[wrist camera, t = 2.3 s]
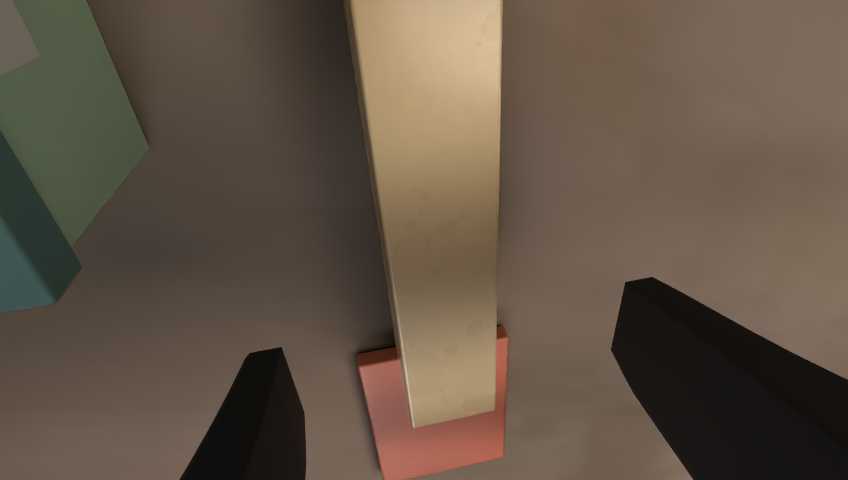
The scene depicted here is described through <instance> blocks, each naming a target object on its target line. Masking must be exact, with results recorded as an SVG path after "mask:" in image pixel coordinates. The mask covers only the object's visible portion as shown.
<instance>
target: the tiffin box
mask: <svg viewBox="0 0 848 480" xmlns="http://www.w3.org/2000/svg"><path fill="white" fill-rule="evenodd" d="M148 149H149V146H148V143H147V141H146V139H145V136H144V134H143V132H142V129H141V127H140V125H139V122H138V120H137V118H136V115H135V113H134V111H133V108H132V106H131V104H130V101H129V99H128V97H127V94H126V92H125V90H124V87H123V85H122V83H121V80H120V78H119V75H118V73H117V71H116V68H115V66H114V64H113V61H112V59H111V57H110V54H109V52H108V50H107V47H106V45H105V43H104V40H103V38H102V36H101V33H100V31H99V29H98V26H97V24H96V22H95V19H94V17H93V15H92V12H91V10H90V8H89V5H88V3H87V1H86V0H0V313H4V312H10V311H16V310H22V309H28V308H33V307H39V306H45V305H51V304H54V303H56V302H58V301H59V300H60V298H61V297H62V295H63V294H64V293H65V291H66V290H67V288H68V287H69V285H70V284H71V283H72V281H73V280H74V278H75V277H76V276H77V274H78V273H79V271H80V270H81V268H82V266H81V263H80V261H79V260H78V258H77V256H76V255H75V253H74V252H73V250H72V248H71V247H72V246H73V244H74V243H75V242H76V241H77V239H78V238H79V237H80V235H81V234H82V233H83V232H84V230H85V229H86V228H87V227H88V225H89V224H90V223H91V222H92V220H93V219H94V218H95V217H96V215H97V214H98V213H99V211H100V210H101V209H102V208H103V206H104V205H105V204H106V203H107V201H108V200H109V199H110V198H111V196H112V195H113V194H114V192H115V191H116V190H117V189H118V187H119V186H120V185H121V184H122V182H123V181H124V180H125V179H126V177H127V176H128V175H129V173H130V172H131V171H132V170H133V168H134V167H135V166H136V165H137V163H138V162H139V161H140V160H141V158H142V157H143V156H144V155H145V153H146V152H147V151H148Z"/></svg>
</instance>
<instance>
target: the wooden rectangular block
mask: <svg viewBox="0 0 848 480" xmlns="http://www.w3.org/2000/svg"><path fill="white" fill-rule="evenodd" d="M343 3H344V10H345V16H346V23H347V29H348V36H349V43H350V49H351V56H352V62H353V69H354V75H355V82H356V88H357V95H358V101H359V108H360V115H361V121H362V128H363V134H364V141H365V147H366V154H367V160H368V167H369V173H370V180H371V187H372V193H373V200H374V206H375V213H376V219H377V226H378V232H379V239H380V246H381V252H382V259H383V265H384V272H385V278H386V285H387V291H388V298H389V304H390V311H391V318H392V324H393V331H394V337H395V344H396V347H392V348H387V349H382V350H376V351H371V352H366V353H361V354H358V356H357V360H358V369H359V373H360V378H361V382H362V386H363V391H364V395H365V400H366V404H367V409H368V413H369V418H370V422H371V426H372V431H373V435H374V440H375V444H376V449H377V453H378V458H379V462H380V467H381V471H382V475H383V480H407V479H411V478H416V477H420V476H424V475H429V474H433V473H437V472H441V471H446V470H450V469H454V468H459V467H463V466H467V465H472V464H476V463H480V462H485V461H489V460H493V459H498V458H502V457H504V432H505V406H506V379H507V352H508V336H507V334H506V332H505V330H504V328H503V326H499V327H497V285H498V230H499V175H500V120H501V65H502V10H503V0H343Z"/></svg>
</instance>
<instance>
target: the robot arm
mask: <svg viewBox="0 0 848 480" xmlns="http://www.w3.org/2000/svg"><path fill="white" fill-rule="evenodd" d="M611 351H612V353H613V355H614V357H615V359H616V361H617V363H618V365H619V367H620V369H621V371H622V373H623V375H624V376H625V378H626V380H627V382H628V384H629V386H630V387H631V389H632V391H633V393H634V394H635V396H636V397H637V399H638V400H639V402H640V403H641V405H642V406H643V408H644V409H645V411H646V412H647V414H648V415H649V416H650V418H651V419H652V421H653V422H654V424H655V425H656V427H657V428H658V430H659V431H660V432H661V434H662V435H663V437H664V438H665V440H666V441H667V442H668V444H669V445H670V447H671V448H672V450H673V451H674V452H675V454H676V455H677V457H678V458H679V460H680V461H681V462H682V464H683V465H684V467H685V468H686V470H687V471H688V473H689V474H690V475H691V477H692V478H693V480H848V380H847V379H845V378H843V377H841V376H838V375H836V374H834V373H832V372H830V371H828V370H826V369H824V368H822V367H820V366H818V365H816V364H814V363H812V362H810V361H808V360H806V359H804V358H802V357H800V356H798V355H796V354H794V353H792V352H790V351H788V350H786V349H784V348H782V347H780V346H778V345H776V344H775V343H773V342H771V341H769V340H767V339H765V338H763V337H761V336H759V335H758V334H756V333H754V332H752V331H750V330H748V329H747V328H745V327H743V326H741V325H739V324H737V323H736V322H734V321H732V320H730V319H728V318H727V317H725V316H723V315H721V314H719V313H718V312H716V311H714V310H712V309H710V308H709V307H707V306H705V305H703V304H701V303H700V302H698V301H696V300H694V299H692V298H691V297H689V296H687V295H685V294H683V293H682V292H680V291H678V290H676V289H674V288H672V287H670V286H669V285H667V284H665V283H663V282H661V281H659V280H657V279H655V278H653V277H650V278H645V279H639V280H634V281H629V282H625V287H624V291H623V296H622V301H621V305H620V310H619V315H618V319H617V324H616V328H615V333H614V338H613V342H612V347H611ZM305 474H306V440H305V416H304V410H303V407H302V405H301V402H300V399H299V396H298V393H297V390H296V387H295V384H294V382H293V379H292V376H291V373H290V370H289V367H288V364H287V361H286V359H285V356H284V353H283V350H282V347H279V348H274V349H269V350H263V351H258V352H253V353H249V354H248V356H247V357H246V358H245V360H244V362H243V364H242V366H241V368H240V370H239V372H238V374H237V376H236V378H235V380H234V382H233V384H232V386H231V388H230V390H229V392H228V394H227V396H226V398H225V400H224V402H223V404H222V406H221V407H220V409H219V411H218V413H217V415H216V417H215V419H214V421H213V422H212V424H211V426H210V428H209V430H208V431H207V433H206V435H205V437H204V438H203V440H202V442H201V444H200V445H199V447H198V449H197V451H196V453H195V454H194V456H193V458H192V460H191V461H190V463H189V465H188V466H187V468H186V470H185V471H184V473H183V475H182V476H181V478H180V480H305Z"/></svg>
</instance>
